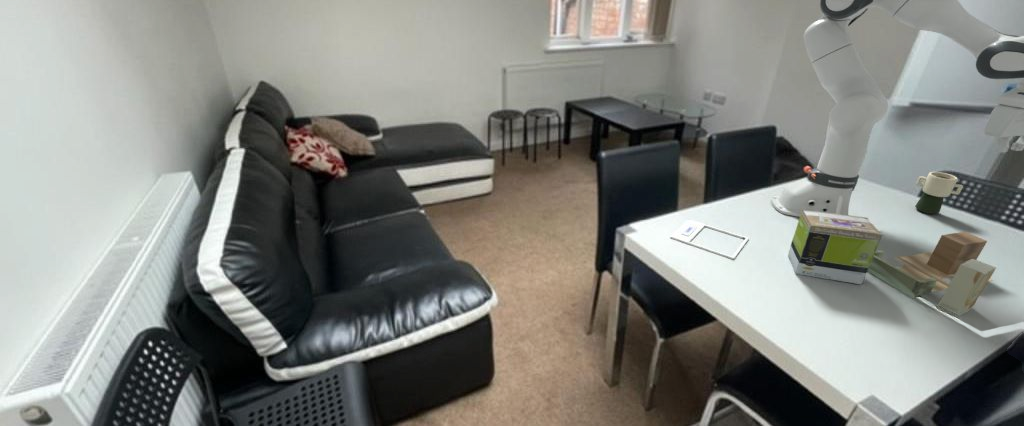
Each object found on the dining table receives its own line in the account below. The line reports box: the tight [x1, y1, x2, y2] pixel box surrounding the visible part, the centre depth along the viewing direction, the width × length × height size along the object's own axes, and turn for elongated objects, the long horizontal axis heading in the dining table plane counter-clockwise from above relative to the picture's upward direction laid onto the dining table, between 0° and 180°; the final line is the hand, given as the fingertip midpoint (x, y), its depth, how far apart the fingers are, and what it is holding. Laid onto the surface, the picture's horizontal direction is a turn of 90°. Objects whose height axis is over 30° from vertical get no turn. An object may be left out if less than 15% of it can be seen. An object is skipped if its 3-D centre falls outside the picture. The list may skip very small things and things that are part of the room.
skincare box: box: [936, 259, 997, 319], centre depth 99 cm, size 6×4×12 cm
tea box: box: [787, 210, 883, 285], centre depth 113 cm, size 15×10×15 cm, turn 71°
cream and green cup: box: [914, 171, 964, 214], centre depth 145 cm, size 11×7×13 cm, turn 42°
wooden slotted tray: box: [867, 249, 993, 299], centre depth 114 cm, size 26×14×4 cm, turn 104°
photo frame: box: [670, 219, 750, 260], centre depth 130 cm, size 15×1×18 cm
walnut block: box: [927, 231, 988, 275], centre depth 114 cm, size 8×5×9 cm, turn 104°
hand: (1008, 150), depth 114 cm, fingers open, 4 cm apart
